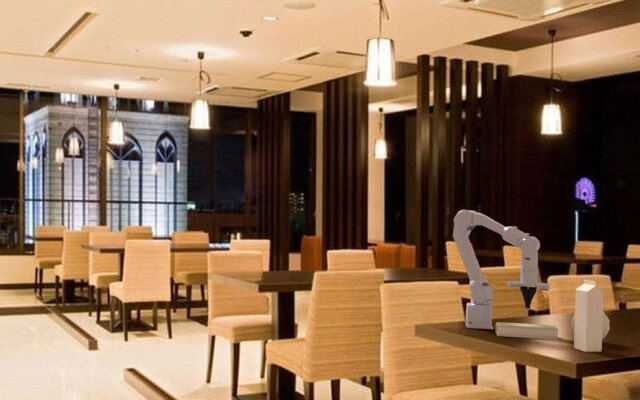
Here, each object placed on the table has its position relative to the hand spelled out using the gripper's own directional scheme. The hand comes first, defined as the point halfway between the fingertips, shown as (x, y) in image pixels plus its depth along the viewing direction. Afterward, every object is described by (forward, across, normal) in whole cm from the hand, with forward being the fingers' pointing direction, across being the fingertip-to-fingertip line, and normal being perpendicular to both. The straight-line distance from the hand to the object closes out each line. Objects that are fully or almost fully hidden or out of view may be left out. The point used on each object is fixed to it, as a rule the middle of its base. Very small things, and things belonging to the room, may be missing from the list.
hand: (527, 308), depth 260 cm
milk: (+9, +15, -28) cm, 33 cm away
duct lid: (+6, -1, -8) cm, 10 cm away
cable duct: (+9, -1, -8) cm, 12 cm away
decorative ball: (+9, +19, -13) cm, 25 cm away
